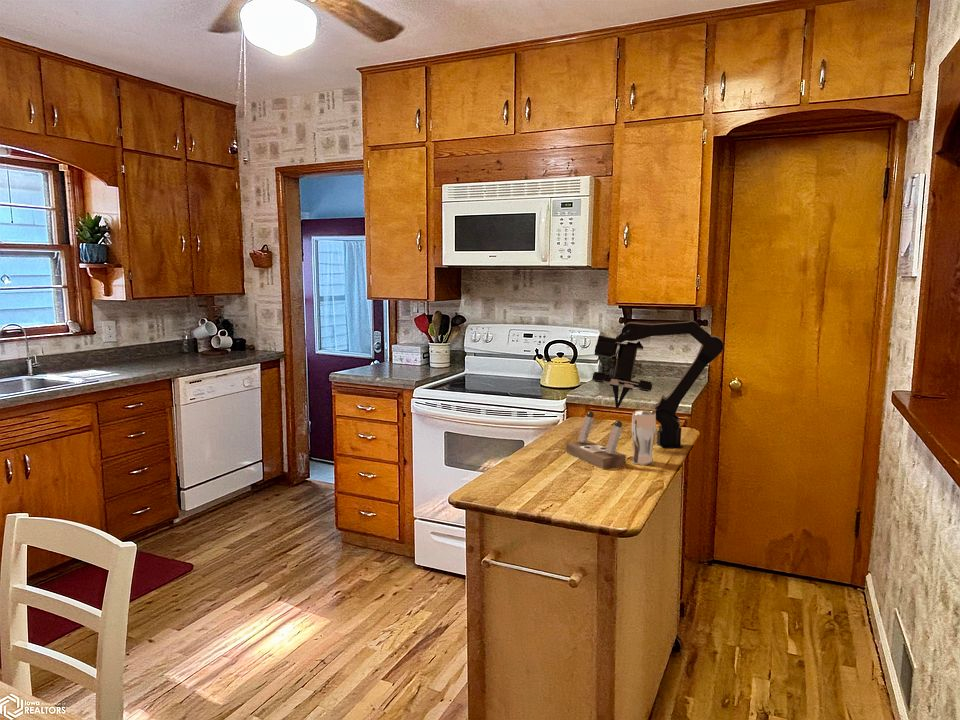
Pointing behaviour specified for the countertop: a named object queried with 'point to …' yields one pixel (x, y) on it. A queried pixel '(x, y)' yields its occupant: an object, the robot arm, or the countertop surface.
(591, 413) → the lever
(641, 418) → the beer glass
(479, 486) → the countertop surface
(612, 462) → the switch box
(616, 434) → the lever
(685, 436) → the countertop surface
